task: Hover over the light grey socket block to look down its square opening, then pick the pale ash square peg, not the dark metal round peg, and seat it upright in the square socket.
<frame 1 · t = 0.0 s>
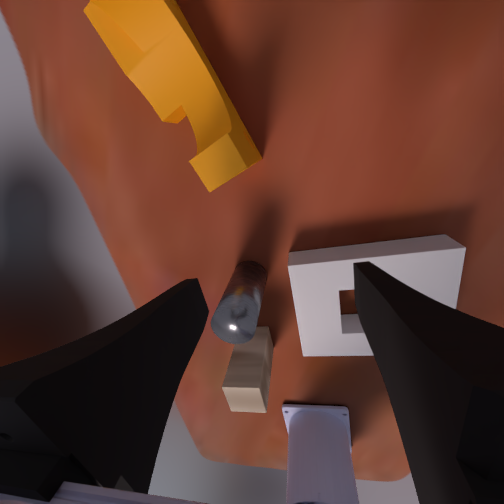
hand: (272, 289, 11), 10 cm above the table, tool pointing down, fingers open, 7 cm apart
square peg: (256, 337, 26), on the table
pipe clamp: (197, 99, 17), on the table
round peg: (250, 275, 23), on the table
socket block: (362, 293, 21), on the table
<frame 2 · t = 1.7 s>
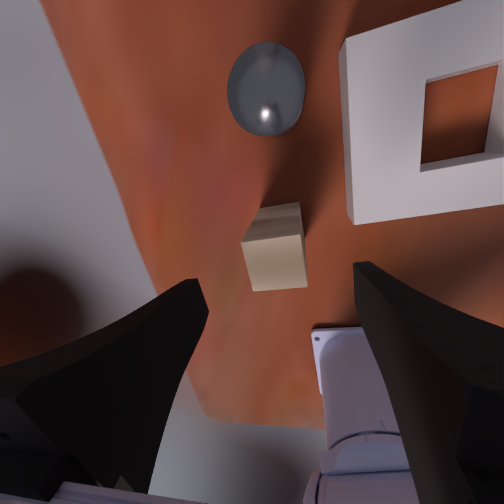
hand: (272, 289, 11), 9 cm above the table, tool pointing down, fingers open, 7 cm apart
square peg: (282, 224, 19), on the table
round peg: (277, 109, 16), on the table
socket block: (445, 121, 15), on the table
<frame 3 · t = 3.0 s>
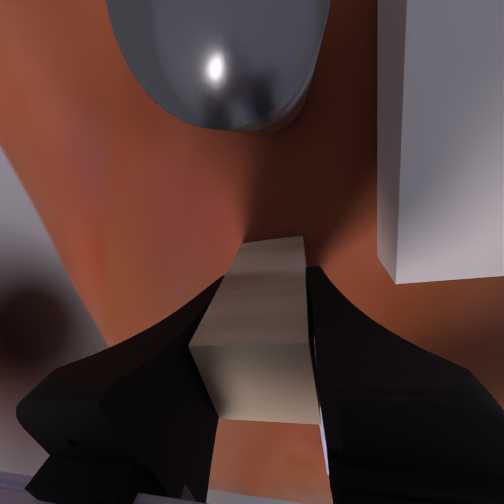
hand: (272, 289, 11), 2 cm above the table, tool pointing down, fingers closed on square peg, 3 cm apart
square peg: (276, 266, 13), on the table, touching gripper
round peg: (267, 89, 9), on the table
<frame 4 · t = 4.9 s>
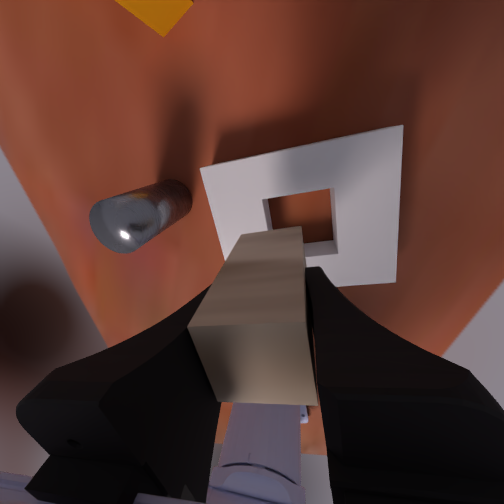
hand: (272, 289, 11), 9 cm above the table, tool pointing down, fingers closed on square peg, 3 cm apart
square peg: (275, 257, 13), point 6 cm above the table, touching gripper
round peg: (173, 199, 19), on the table
socket block: (300, 216, 18), on the table
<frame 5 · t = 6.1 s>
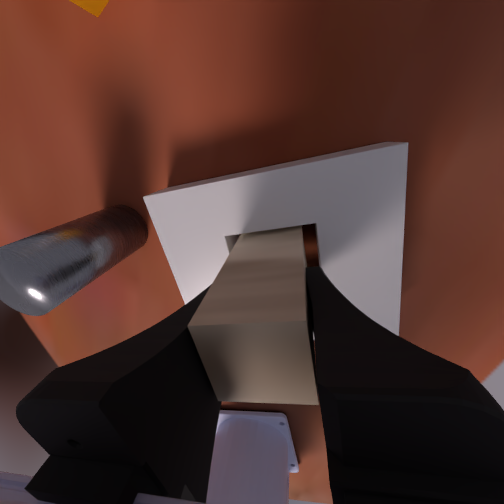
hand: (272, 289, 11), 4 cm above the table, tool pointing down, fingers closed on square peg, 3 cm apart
square peg: (275, 256, 13), point 2 cm above the table, touching gripper
round peg: (125, 228, 16), on the table
socket block: (279, 250, 15), on the table
when the fingers open (3 cm above the table, at t = 6.7 s): square peg stays where it is, resting in socket block.
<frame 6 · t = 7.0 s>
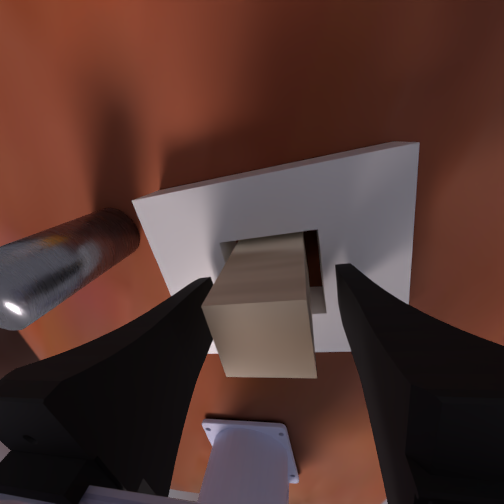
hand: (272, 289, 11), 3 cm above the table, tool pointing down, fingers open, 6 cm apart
square peg: (277, 250, 14), resting in socket block
round peg: (116, 232, 15), on the table
socket block: (278, 256, 14), on the table
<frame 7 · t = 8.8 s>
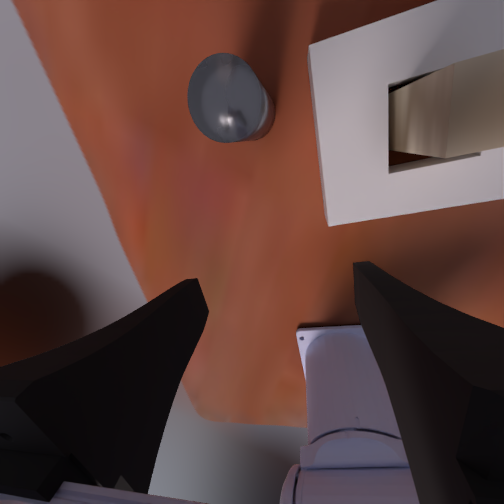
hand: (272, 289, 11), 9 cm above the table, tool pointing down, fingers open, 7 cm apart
square peg: (415, 116, 15), resting in socket block
round peg: (251, 114, 16), on the table
socket block: (415, 123, 15), on the table
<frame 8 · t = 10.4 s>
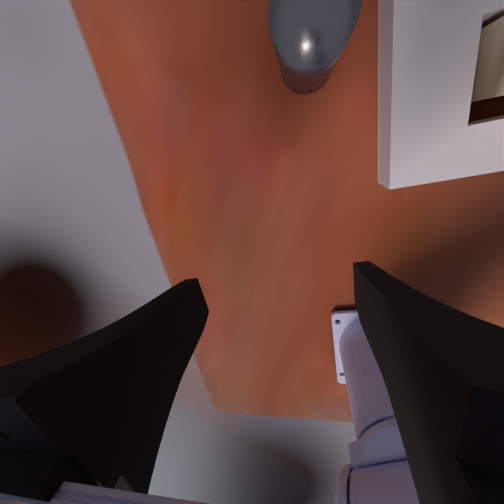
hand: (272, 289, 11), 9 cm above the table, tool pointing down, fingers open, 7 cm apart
square peg: (495, 64, 13), resting in socket block
round peg: (306, 63, 15), on the table
socket block: (493, 72, 13), on the table
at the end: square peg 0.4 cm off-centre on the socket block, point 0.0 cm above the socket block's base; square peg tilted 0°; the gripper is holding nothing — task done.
